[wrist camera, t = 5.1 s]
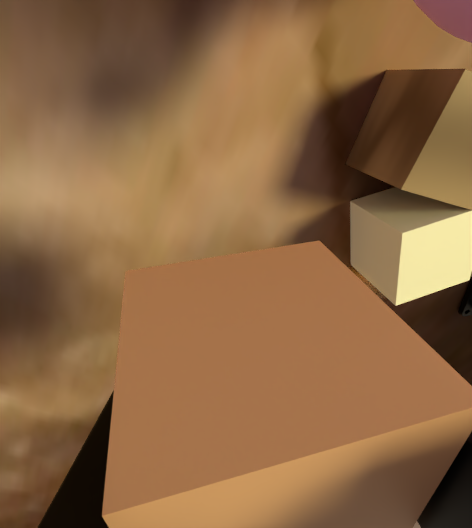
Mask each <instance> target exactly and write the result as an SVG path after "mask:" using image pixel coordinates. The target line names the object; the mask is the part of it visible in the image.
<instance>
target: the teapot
mask: <svg viewBox="0 0 472 528" xmlns="http://www.w3.org/2000/svg"><path fill="white" fill-rule="evenodd" d="M414 2H415V3H416V5H417V6H418V7H419V8H420V9H421V10H422V11H423V12H424V13H425V14H426V15H427V16H428V17H429V18H430V19H431V20H432V21H433V22H434V23H435V24H436V25H437V26H438V27H440V28H442V29H443V30H445V31H447V32H448V33H450V34H452V35H453V36H455V37H458V38H460V39H463V40H466V41H468V42H471V43H472V0H414Z"/></svg>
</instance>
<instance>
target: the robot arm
mask: <svg viewBox="0 0 472 528" xmlns="http://www.w3.org/2000/svg"><path fill="white" fill-rule="evenodd" d="M459 313H460V314H461V315H462V316H468V315H472V281H471V283H470V285H469V288H468V290H467V292H466V295H465V297H464V299H463V302H462V304H461V306H460V309H459ZM113 395H114V391H113V393H112V394H111V396H110V398H109V400H108V402H107V403H106V405H105V407H104V409H103V411H102V412H101V414H100V416H99V418H98V420H97V421H96V423H95V425H94V427H93V429H92V430H91V432H90V434H89V436H88V438H87V439H86V441H85V443H84V445H83V447H82V448H81V450H80V452H79V454H78V456H77V457H76V459H75V461H74V463H73V465H72V466H71V468H70V470H69V472H68V474H67V475H66V477H65V479H64V481H63V483H62V484H61V486H60V488H59V490H58V492H57V494H56V495H55V497H54V499H53V501H52V503H51V504H50V506H49V508H48V510H47V512H46V513H45V515H44V517H43V519H42V521H41V522H40V524H39V526H38V528H109V527H108V525H107V524H106V522H105V521H104V519H103V517H102V509H103V499H104V488H105V478H106V468H107V457H108V447H109V437H110V426H111V416H112V406H113ZM417 521H418V523H419V525H420V526H421V528H472V432H471V433H470V435H469V437H468V438H467V440H466V441H465V443H464V445H463V446H462V448H461V450H460V451H459V453H458V454H457V456H456V458H455V459H454V461H453V463H452V464H451V466H450V467H449V469H448V471H447V472H446V474H445V476H444V477H443V479H442V481H441V482H440V484H439V485H438V487H437V489H436V490H435V492H434V494H433V495H432V497H431V498H430V500H429V502H428V503H427V505H426V507H425V508H424V510H423V511H422V513H421V515H420V516H419V518H418V520H417Z"/></svg>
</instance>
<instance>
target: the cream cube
mask: <svg viewBox="0 0 472 528" xmlns="http://www.w3.org/2000/svg"><path fill="white" fill-rule="evenodd" d="M350 247H351V265H352V266H353V267H354V268H355V269H356V270H357V271H358V272H359V273H360V274H362V275H363V276H364V277H365V278H366V279H367V280H368V281H369V282H370V283H371V284H372V285H373V286H375V287H376V288H377V289H378V290H379V291H380V292H381V293H382V294H383V295H384V296H385V297H386V298H388V299H389V300H390V301H391V302H392V303H393V304H394V305H395V306H397V305H400V304H402V303H405V302H408V301H411V300H414V299H417V298H420V297H423V296H425V295H428V294H431V293H434V292H437V291H440V290H443V289H445V288H448V287H451V286H454V285H457V284H460V283H463V282H466V281H468V280H470V276H471V272H472V210H470V209H466V208H463V207H460V206H456V205H453V204H449V203H446V202H442V201H439V200H435V199H432V198H429V197H425V196H422V195H418V194H415V193H411V192H408V191H405V190H401V189H399V188H397V187H394V188H391V189H387V190H384V191H381V192H378V193H374V194H371V195H368V196H365V197H361V198H358V199H355V200H352V201H350Z"/></svg>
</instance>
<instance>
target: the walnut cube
mask: <svg viewBox="0 0 472 528" xmlns="http://www.w3.org/2000/svg"><path fill="white" fill-rule="evenodd" d="M346 165H348V166H350V167H352V168H354V169H357V170H359V171H361V172H363V173H366V174H368V175H370V176H372V177H374V178H377V179H379V180H381V181H383V182H386V183H388V184H390V185H392V186H394V187H397V188H399V189H401V190H405V191H408V192H411V193H415V194H418V195H422V196H425V197H429V198H432V199H435V200H439V201H442V202H446V203H449V204H453V205H456V206H460V207H463V208H466V209H470V210H472V72H471V71H469V70H467V69H425V70H386V73H385V75H384V77H383V80H382V82H381V84H380V86H379V89H378V91H377V93H376V95H375V98H374V100H373V102H372V105H371V107H370V109H369V111H368V114H367V116H366V118H365V120H364V123H363V125H362V127H361V130H360V132H359V134H358V136H357V139H356V141H355V143H354V145H353V148H352V150H351V152H350V155H349V157H348V159H347V161H346Z"/></svg>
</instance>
